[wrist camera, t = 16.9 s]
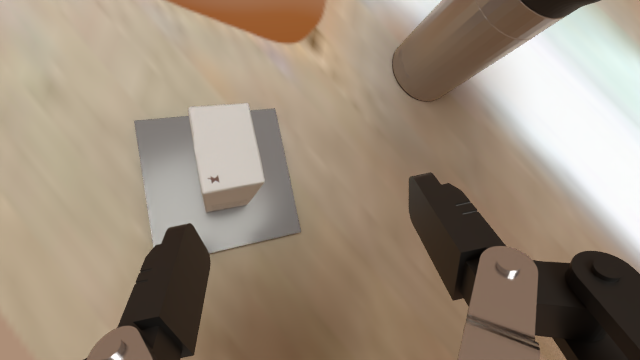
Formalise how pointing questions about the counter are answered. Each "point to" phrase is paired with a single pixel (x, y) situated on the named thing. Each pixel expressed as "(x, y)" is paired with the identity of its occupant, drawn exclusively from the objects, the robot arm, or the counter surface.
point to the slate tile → (185, 192)
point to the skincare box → (226, 155)
